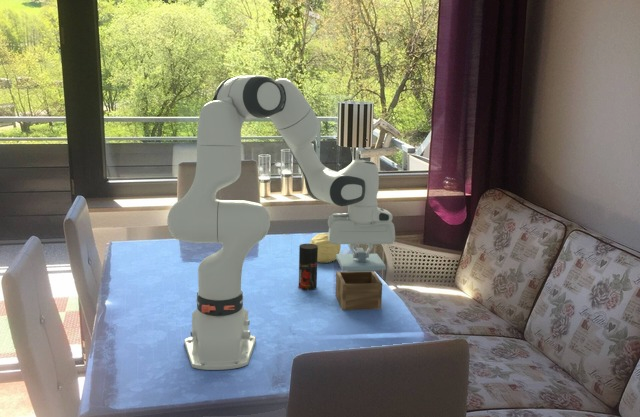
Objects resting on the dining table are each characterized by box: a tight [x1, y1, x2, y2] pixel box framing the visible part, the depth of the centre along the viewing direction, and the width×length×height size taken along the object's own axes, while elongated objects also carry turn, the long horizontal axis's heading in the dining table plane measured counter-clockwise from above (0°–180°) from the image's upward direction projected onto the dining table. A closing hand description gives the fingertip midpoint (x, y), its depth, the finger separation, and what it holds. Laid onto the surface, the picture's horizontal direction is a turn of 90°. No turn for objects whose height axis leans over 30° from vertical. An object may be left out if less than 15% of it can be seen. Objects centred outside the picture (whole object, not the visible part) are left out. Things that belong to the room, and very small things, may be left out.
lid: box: [336, 247, 387, 272], centre depth 195 cm, size 13×13×5 cm
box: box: [335, 270, 383, 311], centre depth 198 cm, size 12×12×9 cm
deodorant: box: [298, 243, 318, 291], centre depth 209 cm, size 6×6×15 cm
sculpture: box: [309, 232, 342, 264], centre depth 239 cm, size 11×12×11 cm
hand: (360, 257), depth 195 cm, fingers closed on lid
